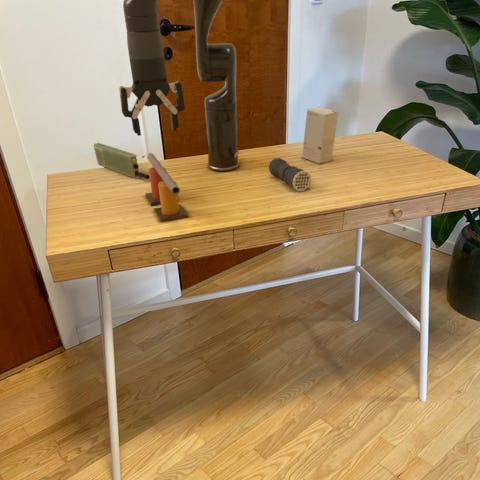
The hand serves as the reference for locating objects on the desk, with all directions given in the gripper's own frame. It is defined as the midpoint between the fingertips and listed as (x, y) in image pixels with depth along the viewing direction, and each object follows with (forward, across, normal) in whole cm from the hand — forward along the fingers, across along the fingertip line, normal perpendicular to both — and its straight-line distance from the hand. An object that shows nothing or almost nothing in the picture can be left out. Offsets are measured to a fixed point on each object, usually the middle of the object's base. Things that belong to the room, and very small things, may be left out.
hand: (156, 132), depth 109 cm
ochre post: (+18, 0, +6) cm, 19 cm away
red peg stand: (+18, 0, -5) cm, 19 cm away
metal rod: (+11, 0, 0) cm, 11 cm away
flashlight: (+19, -36, -2) cm, 41 cm away
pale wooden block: (+19, -54, -17) cm, 59 cm away
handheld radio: (+19, +6, -30) cm, 36 cm away
